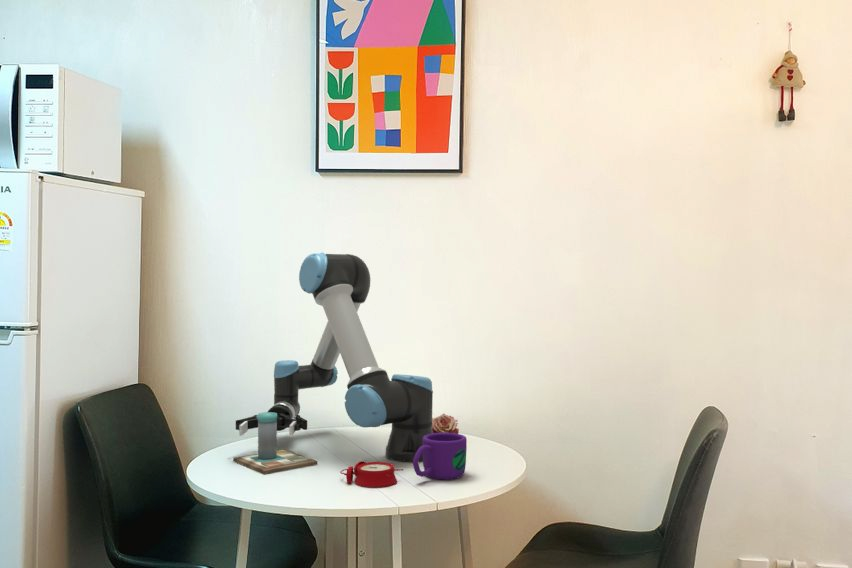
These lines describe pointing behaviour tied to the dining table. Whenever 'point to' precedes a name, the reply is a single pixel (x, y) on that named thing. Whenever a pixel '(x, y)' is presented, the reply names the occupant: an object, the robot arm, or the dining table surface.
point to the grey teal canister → (267, 435)
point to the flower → (444, 424)
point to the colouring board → (276, 462)
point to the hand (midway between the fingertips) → (265, 430)
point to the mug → (442, 456)
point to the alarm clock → (372, 474)
